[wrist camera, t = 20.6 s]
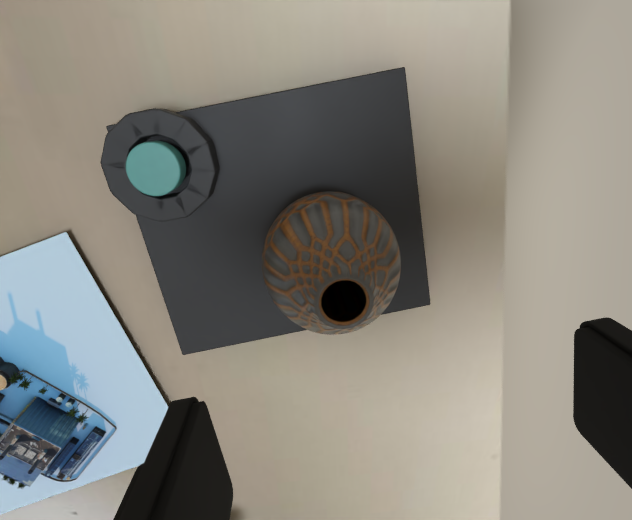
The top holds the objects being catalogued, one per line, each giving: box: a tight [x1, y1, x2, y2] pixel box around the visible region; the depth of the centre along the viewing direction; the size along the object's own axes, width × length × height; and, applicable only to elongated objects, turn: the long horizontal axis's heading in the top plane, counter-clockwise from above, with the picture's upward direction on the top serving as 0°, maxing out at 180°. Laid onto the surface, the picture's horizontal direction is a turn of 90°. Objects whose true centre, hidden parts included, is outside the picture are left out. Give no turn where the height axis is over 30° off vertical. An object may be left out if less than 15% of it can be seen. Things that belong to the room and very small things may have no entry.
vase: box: [262, 191, 401, 334], centre depth 20 cm, size 7×7×9 cm
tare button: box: [126, 141, 186, 196], centre depth 21 cm, size 3×3×1 cm
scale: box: [101, 67, 430, 355], centre depth 24 cm, size 16×14×3 cm
